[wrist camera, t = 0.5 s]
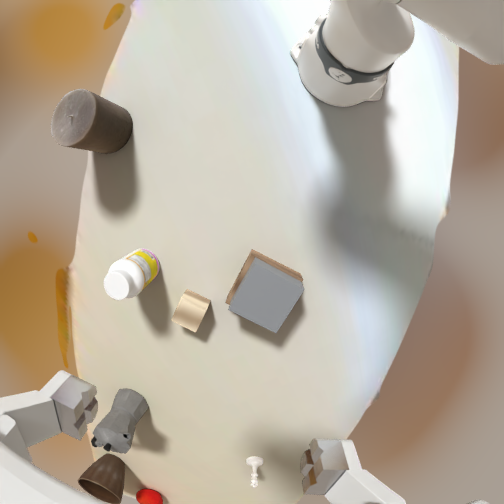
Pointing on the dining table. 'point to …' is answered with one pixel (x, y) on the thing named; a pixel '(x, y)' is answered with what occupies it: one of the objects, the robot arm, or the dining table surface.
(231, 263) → the dining table surface
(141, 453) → the dining table surface
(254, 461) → the chess piece
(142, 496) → the tomato
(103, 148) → the pillar candle
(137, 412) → the coffeepot
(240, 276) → the tower base
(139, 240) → the dining table surface
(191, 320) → the birch block
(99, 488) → the plant pot
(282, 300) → the tower top
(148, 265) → the supplement bottle
